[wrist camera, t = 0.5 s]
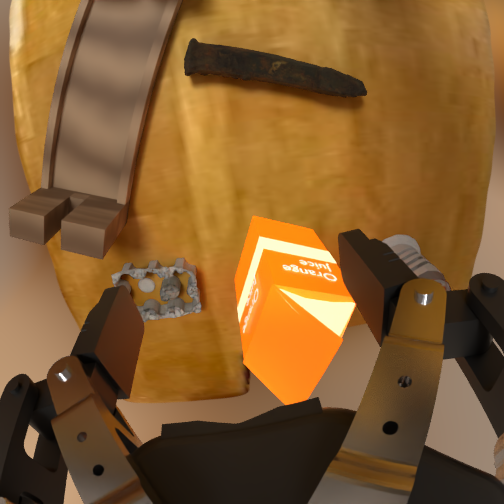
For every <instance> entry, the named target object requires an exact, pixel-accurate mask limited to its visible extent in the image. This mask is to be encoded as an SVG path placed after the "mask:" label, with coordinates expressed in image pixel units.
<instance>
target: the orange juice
mask: <svg viewBox="0 0 504 504" xmlns="http://www.w3.org/2000/svg"><path fill="white" fill-rule="evenodd" d="M235 287H236V296H237V305H238V308H237V309H238V318H239V323H240V331H241V339H242V347H243V355H244V361H243V363H244V364H245V365H246V366H247V367H248V368H249V369H250V370H251V371H252V372H253V373H254V374H255V375H256V376H257V377H258V378H259V379H260V380H261V381H262V382H263V383H264V384H265V385H266V386H267V387H268V388H269V389H270V390H271V391H272V392H273V393H274V394H275V395H276V396H277V397H278V398H279V399H280V400H281V401H282V402H283V403H284V404H285V405H289V404H293V403H297V402H301V401H305V400H307V399H308V397H309V396H310V394H311V392H312V391H313V389H314V388H315V386H316V385H317V383H318V382H319V380H320V378H321V377H322V375H323V374H324V372H325V370H326V369H327V367H328V365H329V364H330V362H331V360H332V359H333V357H334V355H335V354H336V352H337V350H338V348H339V347H340V345H341V343H342V341H343V339H342V336H343V333H344V331H345V329H346V327H347V324H348V322H349V320H350V317H351V315H352V312H353V310H354V308H355V306H356V304H355V302H354V300H353V299H352V297H351V295H350V294H349V292H348V290H347V288H346V287H345V285H344V282H343V279H342V275H341V270H340V268H339V267H338V265H337V263H336V262H335V260H334V259H333V257H332V256H331V254H330V253H329V251H327V250H326V248H325V247H324V245H323V244H322V242H321V241H320V240H319V238H318V237H317V235H316V234H315V232H314V231H313V230H312V229H308V228H304V227H300V226H296V225H292V224H287V223H283V222H279V221H274V220H270V219H266V218H261V217H257V216H253V217H252V221H251V224H250V228H249V231H248V234H247V238H246V241H245V245H244V248H243V252H242V255H241V259H240V262H239V266H238V269H237V273H236V276H235Z"/></svg>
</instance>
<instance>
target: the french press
mask: <svg viewBox="0 0 504 504" xmlns="http://www.w3.org/2000/svg"><path fill="white" fill-rule="evenodd" d="M382 242H384V243H386V244H387V245H388V246H389V247H390V248H391V249H392V250H393V251H394V253H396V254H397V255H398V256H399V257H400V259H402V260H403V261H404V262H405V264H406V265H407V266H408V267H409V268H410V269H411V270H412V271H413V272H414V273H415V274H416V275H417V276H418V278H425V279H431V280H434V281H436V282H438V283H440V284H441V285H442V286H443V287H444V289H445V290H446V291H451V288H450V286H449V284H448V282H447V281H445V278H444V276H443V274H442V273H441V272H440V271H439V270H438V269H437V268H436V267H435V266H434V265H432V264H431V263H430V262H429V261H428V260H426V258H425V257H424V256H422V255H421V254H420V248H419V246H418V244H417V242H416V240H415V239H413V238H411V237H410V236H408V235H394V236H392V237H389V238H387V239H384V240H383V241H382ZM423 257H424V258H423ZM427 261H428V262H429V263H428V262H427Z"/></svg>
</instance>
